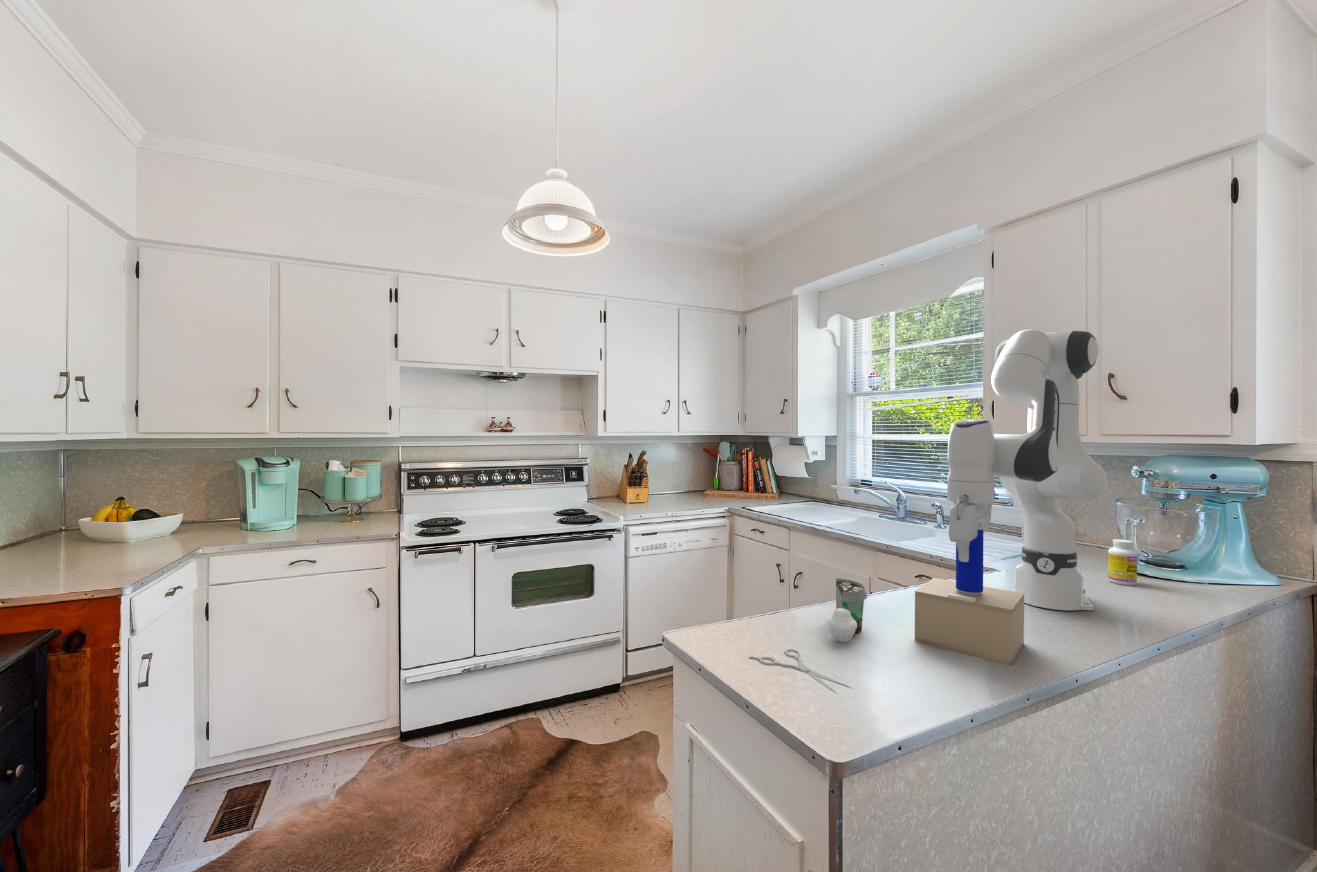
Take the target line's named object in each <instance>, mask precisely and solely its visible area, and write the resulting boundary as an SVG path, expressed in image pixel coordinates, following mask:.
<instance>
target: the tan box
mask: <svg viewBox="0 0 1317 872" xmlns="http://www.w3.org/2000/svg"><path fill="white" fill-rule="evenodd" d="M1024 635H1025V603H1024V599H1023V601H1022V602H1021V603H1020V605H1019V606H1018V607H1017V609H1016V610H1015V612H1014V613H1013V614H1012V615H1010V614H1005V613H1000V612H995V611H990V610H985V609H980V608H975V607H970V606H965V605H960V604H955V603H950V602H945V601H940V600H935V599H929V598H924V597H919V596H915V595H914V642H917V643H921V644H926V645H929V646H934V647H937V648H941V649H942V648H943V649H946V650H950V651H953V652H957V651H959V652H958V653H961V652H962V653H961V654H965V653H966V654H965V655H969V654H970V655H969V656H974V657H977V658H982V659H986V660H990V661H994V662H996V663H997V662H998V663H1002V664H1006V665H1010V666H1012V665H1013V663H1014V661H1015V660H1016V659H1017V656H1018V655H1019V653H1020V651H1021V649H1022V648H1023V646H1024V645H1025V644H1024V643H1025V641H1024V640H1025V636H1024Z"/></svg>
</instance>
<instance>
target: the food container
mask: <svg viewBox="0 0 1317 872" xmlns="http://www.w3.org/2000/svg"><path fill="white" fill-rule="evenodd" d="M835 590H836V591H835V594H836V595H835V596H836V597H835V605H836V607H835V608H836V609H838V608H845V609H847V610H849V611H850V613H851V616H852V617H853V619H854V620H855V621H856V623H857V628H856V631H855V633H854V635H858V634H860V633H861V632H862V628H863V626H862V625H863V616H864V615H863V614H864V604H865V600H866V599H867V598H868V594H867V590H866V588H865V585H864V584H862V583H860V582H858V581H855V580H851V579H846V578H835ZM836 609H835V610H836Z"/></svg>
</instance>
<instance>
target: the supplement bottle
mask: <svg viewBox="0 0 1317 872" xmlns="http://www.w3.org/2000/svg"><path fill="white" fill-rule="evenodd" d="M1112 545H1113V546H1112V547H1110V548H1109V549H1108V552H1107V553H1108V557H1107V558H1108V563H1107V564H1108V565H1107V580H1108V581H1109V582H1110V583H1112V584H1117V585H1120V584H1121V585H1120V586H1135V585H1137V584H1138V583H1137V582H1138V580H1137V579H1138V578H1137V577H1138V552H1137V551H1136V550H1134V549H1133V547H1134V541H1133V540H1130V539H1129V540H1128V539H1119V538H1114V539H1112Z"/></svg>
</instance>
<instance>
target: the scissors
mask: <svg viewBox="0 0 1317 872" xmlns="http://www.w3.org/2000/svg"><path fill="white" fill-rule="evenodd" d="M789 652H795V653H797V654H792V653H791V654H790V653H789ZM784 654H785V655H786V656H787V657H791V658H794V659H796V660H797V662H798V665H797V664H790V663H789V664H788V663H784V662H783V663H782V662H780V661H778V660H777V659H776V657H772V656H771V657H770V656H760V657H759V656H752V655H749V656H748V659H753V660H758V662H760V663H761V664H763V665H768V666H775V665H776V666H781V667H783V668H786V667H788V668H793V669H795V670H798V671H801V672H802V673H803V672H804V673H805V674H807V675H808V676H810V677H811V678H813V679H814V680H815V681H816V682H818V683H820V684H821V685H823V686H824V687H826V688H827V689H829V690H830V691H832V692H833V693H835V694H837V695H839V693H838V692H837V691H835V690H834V689H833V688H832V687H831V686H830V685H828V684H827V683H826V682H825V681H823V680H822V679H825V680H827V681H830V682H833V683H837V684H840V685H843V686H846V687H849V688H851V686H850V685H847V684H845V683H842V682H840V681H838V680H836V679H834V678H831V677H829V676H826V675H823V674H821V673H819V672H816V671H814V670H812V669H811V668H810V667H808V666H807V665H805V664H804V663H803V662H802V658H800V657H801V652H800V651H799V650H797V649H794V648H786V649H785V650H784ZM765 660H770V661H765ZM821 678H822V679H821Z"/></svg>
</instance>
